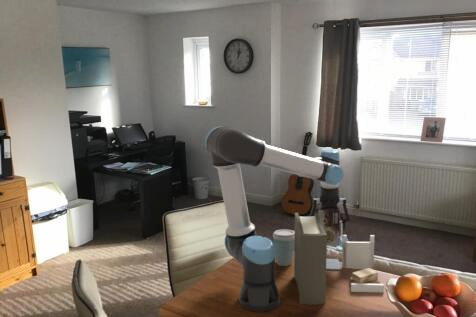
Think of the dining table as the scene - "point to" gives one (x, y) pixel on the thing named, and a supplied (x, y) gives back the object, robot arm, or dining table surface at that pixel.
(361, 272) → the offcut upper
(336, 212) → the coffee box
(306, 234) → the book
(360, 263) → the rack
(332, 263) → the mat
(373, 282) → the offcut lower
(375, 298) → the dining table surface
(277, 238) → the disposable coffee cup
